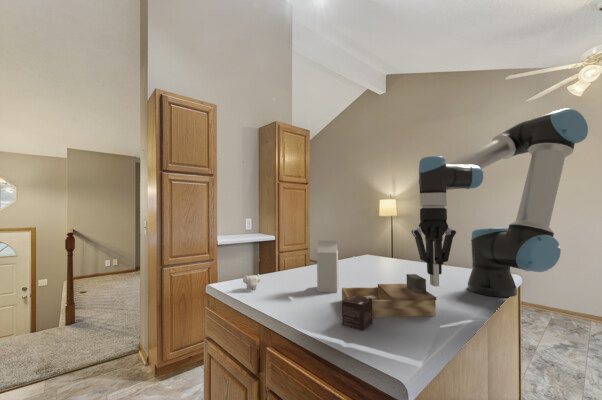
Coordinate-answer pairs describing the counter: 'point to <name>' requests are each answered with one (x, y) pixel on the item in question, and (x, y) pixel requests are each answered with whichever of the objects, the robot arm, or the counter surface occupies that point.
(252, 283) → the elephant figurine
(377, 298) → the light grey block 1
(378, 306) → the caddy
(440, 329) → the counter surface
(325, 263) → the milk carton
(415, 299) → the lid
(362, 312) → the box
